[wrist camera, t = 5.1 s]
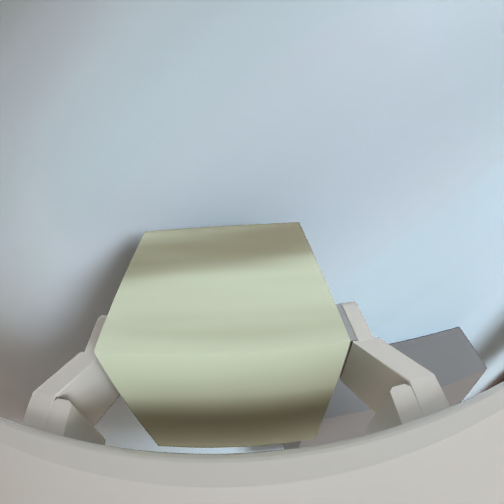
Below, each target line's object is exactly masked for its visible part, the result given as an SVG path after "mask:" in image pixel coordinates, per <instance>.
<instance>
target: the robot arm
mask: <svg viewBox="0 0 504 504" xmlns="http://www.w3.org/2000/svg"><path fill="white" fill-rule="evenodd" d="M336 306H337V309H338V311H339V313H340V316H341V318H342V321H343V323H344V326H345V328H346V331H347V333H348V336H349V338H350V340H351V341H350V344H349V347H348V350H347V353H346V357H345V360H344V363H343V366H342V369H341V372H340V375H339V377H338V379H339V378H340V380H341V381H342V382H343V383H344V384H345V385H346V386H347V387H348V388H349V389H350V390H352V391H353V392H354V393H355V394H356V395H357V396H358V397H359V398H360V399H361V400H362V401H363V402H364V403H365V404H366V405H367V406H368V407H370V408H371V409H372V410H373V411H374V412H375V413H376V414H375V416H374V417H373V419H372V420H371V421H370V423H369V424H368V426H367V427H366V432H367V435H363V436H358V437H354V438H350V439H345V440H340V441H336V442H330V443H325V444H319V445H313V446H307V447H300V448H293V449H285V450H276V451H265V452H253V453H233V454H185V453H166V452H154V451H143V450H135V449H127V448H120V447H113V446H107V445H105V438H104V437H103V436H102V435H101V434H100V433H99V432H98V431H97V430H96V429H95V428H94V426H95V425H96V424H97V422H98V421H99V420H100V419H101V418H102V416H103V415H104V414H105V413H106V411H107V410H108V409H109V408H110V407H111V405H112V404H113V403H114V402H115V401H116V399H117V398H118V397H119V396H120V393H119V392H118V390H117V389H116V387H115V386H114V384H113V383H112V381H111V380H110V378H109V376H108V375H107V373H106V372H105V370H104V368H103V367H102V365H101V363H100V362H99V360H98V358H97V357H96V355H95V353H94V349H95V347H96V344H97V341H98V338H99V336H100V333H101V331H102V328H103V325H104V323H105V320H106V318H107V315H101V316H100V317H98V319H97V322H96V324H95V326H94V329H93V331H92V334H91V336H90V339H89V341H88V344H87V346H86V349H85V351H84V352H80V353H79V354H77V355H76V356H75V357H74V358H72V359H71V360H70V361H69V362H68V363H66V364H65V365H64V366H63V367H62V368H61V369H59V370H58V371H57V372H56V373H55V374H53V375H52V376H51V377H50V378H49V379H47V380H46V381H45V382H44V383H43V384H42V385H40V386H39V387H38V388H37V389H36V390H35V391H33V394H32V396H31V399H30V401H29V404H28V407H27V410H26V413H25V415H24V418H23V421H22V424H20V423H17V422H14V421H11V420H8V419H6V418H3V417H1V416H0V504H504V381H503V382H501V383H499V384H497V385H496V386H494V387H492V388H490V389H488V390H486V391H484V392H482V393H480V394H478V395H476V396H474V397H471V398H469V399H467V400H465V401H463V402H460V403H458V404H456V405H453V406H451V407H450V405H449V403H448V401H447V399H446V397H445V395H444V393H443V391H442V389H441V387H440V385H439V383H438V381H437V379H436V377H435V375H434V374H433V373H432V372H430V371H429V370H427V369H426V368H424V367H423V366H421V365H419V364H418V363H416V362H415V361H413V360H412V359H410V358H409V357H407V356H406V355H404V354H403V353H401V352H400V351H398V350H397V349H395V348H394V347H392V346H390V345H389V344H387V343H386V342H384V341H383V340H381V339H380V338H378V337H377V338H374V337H373V335H372V333H371V331H370V329H369V327H368V325H367V323H366V321H365V319H364V317H363V315H362V313H361V311H360V309H359V307H358V305H357V303H356V302H347V303H340V304H336Z"/></svg>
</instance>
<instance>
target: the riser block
mask: <svg viewBox="0 0 504 504" xmlns="http://www.w3.org/2000/svg"><path fill="white" fill-rule="evenodd" d="M389 345H390V346H392V347H394V348H395V349H397V350H398V351H400V352H401V353H403V354H404V355H406V356H407V357H409V358H410V359H412V360H413V361H415V362H416V363H418V364H419V365H421V366H423V367H424V368H426V369H427V370H429V371H430V372H432V373H433V374H434V375H435V377H436V379H437V381H438V383H439V385H440V387H441V389H442V391H443V393H444V395H445V397H446V399H447V401H448V403H449V405H450V407H451V406H453V405H456V404H458V403H460V402H461V401H462V400H463V399H464V398H465V396H466V395H467V394H468V393H469V392H470V390H471V389H472V388H473V386H474V385H475V384H476V383H477V381H478V380H479V379H480V377H481V376H482V375H483V373H484V372H485V371H486V369H487V367H486V366H485V364H484V363H483V361H482V359H481V358H480V356H479V355H478V353H477V352H476V350H475V349H474V347H473V346H472V344H471V343H470V341H469V340H468V339H467V337H466V336H465V334H464V333H463V331H462V330H461V329H460V327H457V328H454V329H450V330H447V331H443V332H439V333H435V334H432V335H428V336H424V337H420V338H416V339H411V340H407V341H403V342H398V343H393V344H389ZM375 414H376V413H375V412H374V411H373V410H372V409H371V408H370V407H368V406H367V405H366V404H365V403H364V402H363V401H362V400H361V399H360V398H359V397H358V396H357V395H356V394H355V393H354V392H353V391H352V390H350V389H349V388H348V387H347V386H346V385H345V384H344V383H343V382H342V381H341V380H340V378H339V379H338V380H337V383H336V386H335V389H334V391H333V394H332V397H331V400H330V402H329V405H328V407H327V410H326V413H325V415H324V418H323V420H322V423H321V425H320V428H319V430H318V432H317V435H316V437H315V439H311V440H304V441H297V442H290V443H284V450H285V449H293V448H300V447H307V446H313V445H319V444H325V443H330V442H336V441H340V440H345V439H350V438H354V437H358V436H363V435H367V432H366V427H367V426H368V424H369V423H370V421H371V420H372V419H373V417H374V416H375Z"/></svg>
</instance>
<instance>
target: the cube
mask: <svg viewBox="0 0 504 504" xmlns="http://www.w3.org/2000/svg"><path fill="white" fill-rule="evenodd" d="M350 341H351V340H350V338H349V336H348V333H347V331H346V328H345V326H344V323H343V321H342V318H341V316H340V313H339V311H338V309H337V306H336V304H335V302H334V299H333V297H332V294H331V292H330V290H329V287H328V285H327V283H326V281H325V278H324V276H323V274H322V271H321V269H320V267H319V265H318V262H317V260H316V258H315V256H314V254H313V251H312V249H311V247H310V245H309V243H308V240H307V238H306V236H305V234H304V232H303V230H302V227H301V225H300V223H299V222H295V223H273V224H254V225H236V226H219V227H203V228H188V229H174V230H160V231H147V232H145V233H144V235H143V237H142V239H141V241H140V243H139V245H138V247H137V249H136V251H135V253H134V255H133V257H132V260H131V262H130V264H129V266H128V268H127V271H126V273H125V275H124V277H123V280H122V282H121V284H120V286H119V289H118V291H117V293H116V296H115V298H114V300H113V303H112V305H111V308H110V310H109V313H108V315H107V318H106V320H105V323H104V325H103V328H102V331H101V333H100V336H99V338H98V341H97V344H96V347H95V349H94V353H95V355H96V357H97V358H98V360H99V362H100V363H101V365H102V367H103V368H104V370H105V372H106V373H107V375H108V376H109V378H110V380H111V381H112V383H113V384H114V386H115V387H116V389H117V390H118V392H119V393H120V395H121V396H122V398H123V399H124V401H125V402H126V404H127V405H128V406H129V408H130V409H131V411H132V412H133V413H134V415H135V416H136V418H137V419H138V420H139V422H140V423H141V424H142V426H143V427H144V428H145V430H146V431H147V432H148V433H149V435H150V436H151V437H152V438H153V440H154V441H155V442H156V443H157V445H158V446H170V447H196V448H219V447H246V446H260V445H271V444H281V443H290V442H297V441H304V440H311V439H315V437H316V435H317V432H318V430H319V428H320V425H321V423H322V420H323V418H324V415H325V413H326V410H327V407H328V405H329V402H330V400H331V397H332V394H333V391H334V389H335V386H336V383H337V380H338V377H339V375H340V372H341V369H342V366H343V363H344V360H345V357H346V353H347V350H348V347H349V344H350Z"/></svg>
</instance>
